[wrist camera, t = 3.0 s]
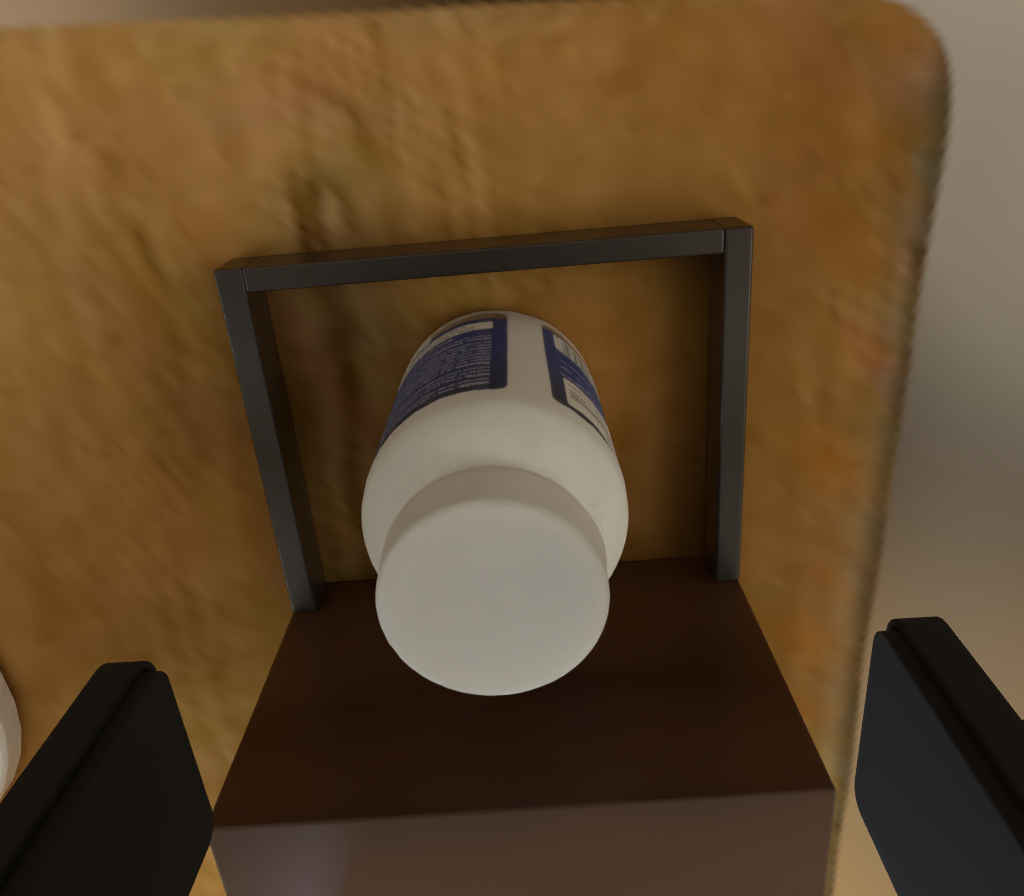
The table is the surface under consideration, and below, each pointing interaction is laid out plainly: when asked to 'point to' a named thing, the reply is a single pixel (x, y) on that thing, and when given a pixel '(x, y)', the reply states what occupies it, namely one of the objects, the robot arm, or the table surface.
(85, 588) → the table surface
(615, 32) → the table surface
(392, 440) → the pill bottle
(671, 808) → the step rack
